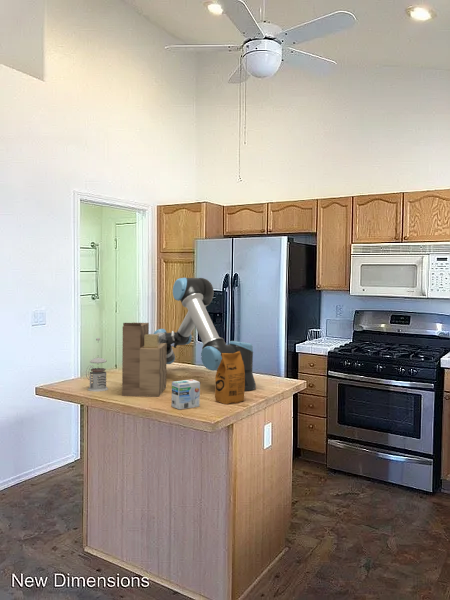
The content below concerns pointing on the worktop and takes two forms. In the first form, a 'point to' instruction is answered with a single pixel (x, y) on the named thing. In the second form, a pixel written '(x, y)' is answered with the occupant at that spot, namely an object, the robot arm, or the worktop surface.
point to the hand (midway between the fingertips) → (159, 332)
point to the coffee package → (230, 379)
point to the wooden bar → (153, 340)
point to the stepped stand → (142, 363)
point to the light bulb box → (185, 394)
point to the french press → (97, 375)
